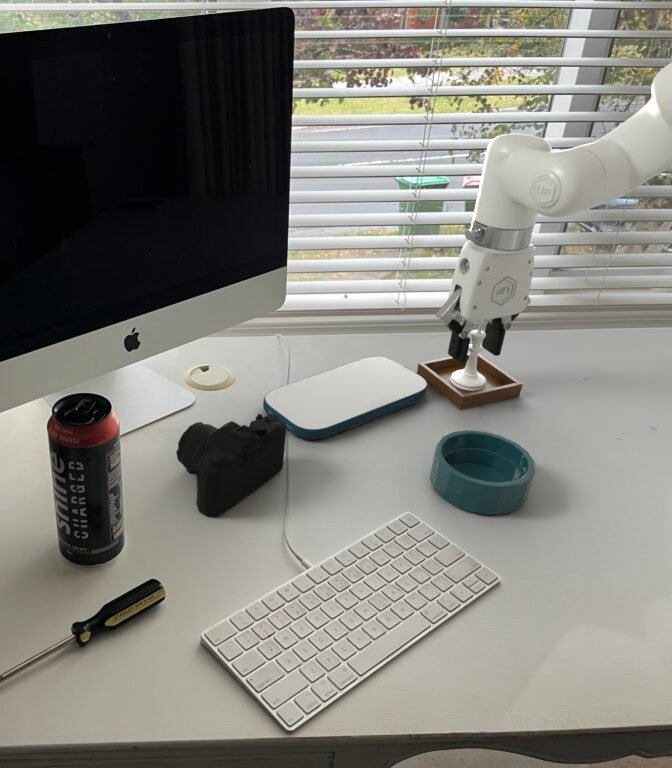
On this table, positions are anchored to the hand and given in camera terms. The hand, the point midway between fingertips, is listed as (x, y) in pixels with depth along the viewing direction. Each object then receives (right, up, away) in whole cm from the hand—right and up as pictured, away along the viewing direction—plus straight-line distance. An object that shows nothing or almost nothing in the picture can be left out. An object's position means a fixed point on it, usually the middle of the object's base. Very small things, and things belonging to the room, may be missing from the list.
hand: (473, 353), depth 113 cm
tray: (0, -4, +3) cm, 5 cm away
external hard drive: (-19, -7, -1) cm, 20 cm away
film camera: (-37, -16, -15) cm, 43 cm away
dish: (-7, -17, -17) cm, 25 cm away
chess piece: (0, -4, +2) cm, 5 cm away
